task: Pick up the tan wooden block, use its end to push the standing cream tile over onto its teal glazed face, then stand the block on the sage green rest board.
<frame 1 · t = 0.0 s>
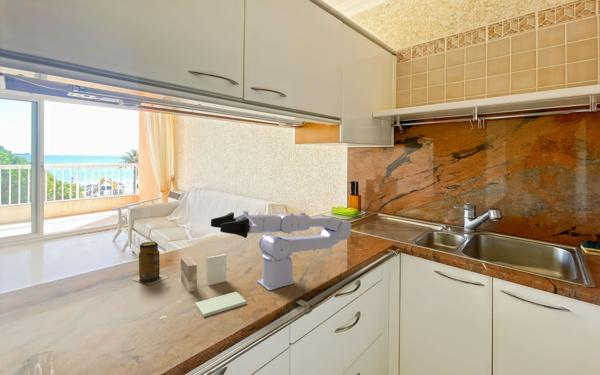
hand: (215, 225, 78), 22 cm above the table, tool horizontal, fingers open, 7 cm apart
tile: (216, 282, 91), on the table
rest board: (221, 304, 77), on the table
condiment: (151, 279, 93), on the table
tan wooden block: (188, 285, 89), on the table
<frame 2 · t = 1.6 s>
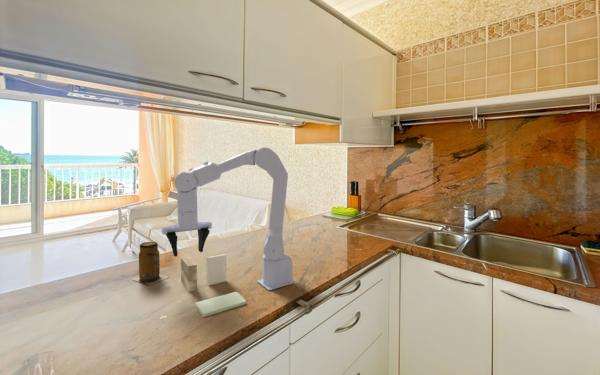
hand: (188, 253, 88), 10 cm above the table, tool pointing down, fingers open, 7 cm apart
nothing on the table moved.
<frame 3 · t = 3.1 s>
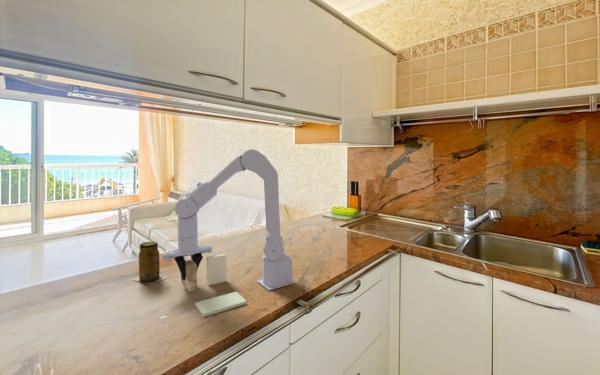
hand: (188, 277, 89), 2 cm above the table, tool pointing down, fingers closed on tan wooden block, 2 cm apart
tan wooden block: (188, 285, 89), on the table, touching gripper
everything else where it was.
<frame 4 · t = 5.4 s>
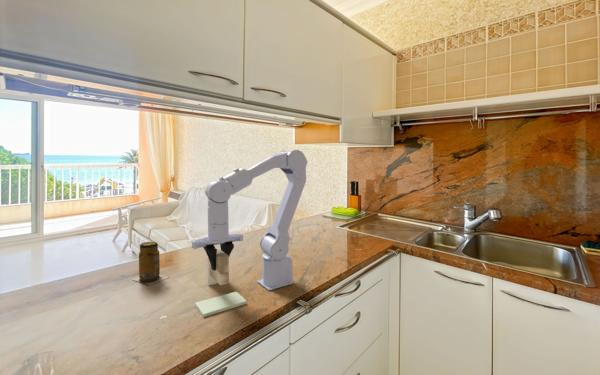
hand: (218, 268, 82), 8 cm above the table, tool pointing down, fingers closed on tan wooden block, 2 cm apart
tan wooden block: (218, 278, 82), point 5 cm above the table, touching gripper
everything else where it was.
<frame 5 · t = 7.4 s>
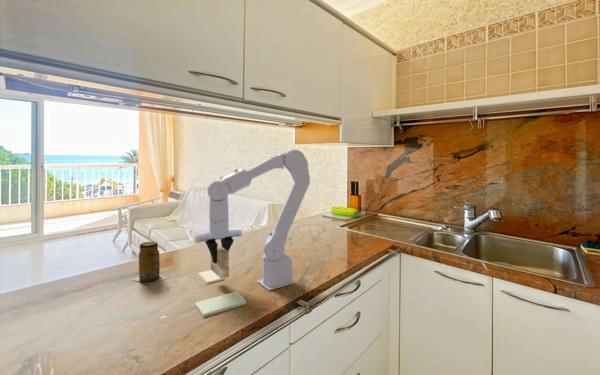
hand: (219, 261, 88), 8 cm above the table, tool pointing down, fingers closed on tan wooden block, 2 cm apart
tile: (215, 281, 92), on the table, tilted 89°
tan wooden block: (219, 272, 89), point 4 cm above the table, touching gripper
everything else where it was.
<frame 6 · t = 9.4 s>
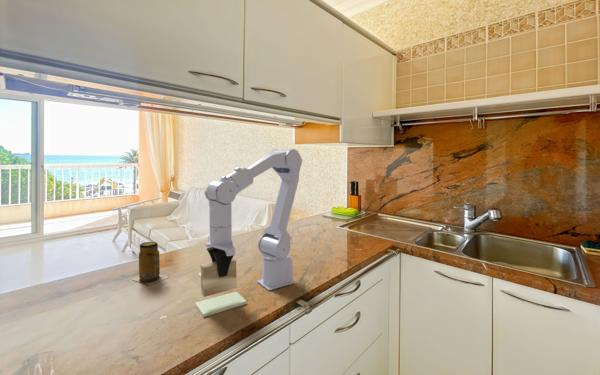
hand: (220, 274, 76), 9 cm above the table, tool pointing down, fingers closed on tan wooden block, 2 cm apart
tan wooden block: (219, 290, 76), point 4 cm above the table, touching gripper
everything else where it was.
when the fingers open (5 cm above the table, at t = 10.3 s): tan wooden block stays where it is, resting on rest board.
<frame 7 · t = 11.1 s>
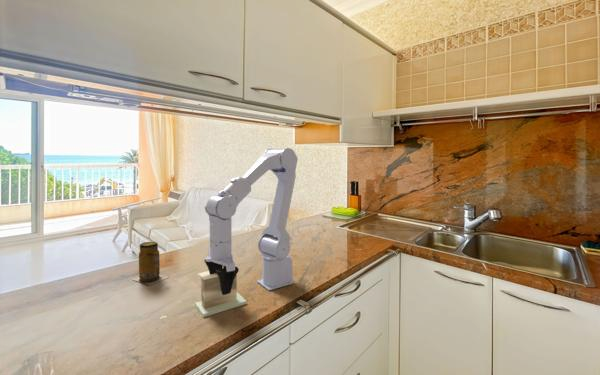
hand: (221, 288, 77), 5 cm above the table, tool pointing down, fingers open, 7 cm apart
tan wooden block: (219, 302, 77), point 1 cm above the table, touching rest board
everything else where it was.
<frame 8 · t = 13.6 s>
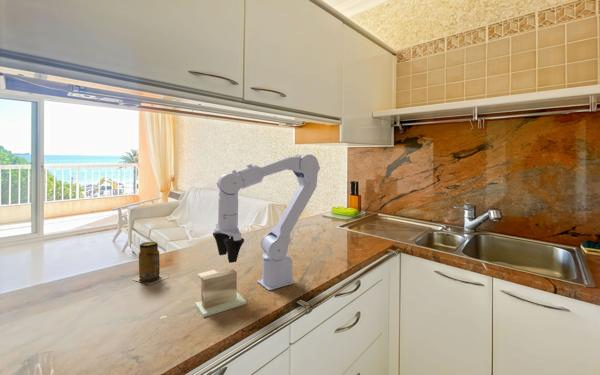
hand: (227, 258, 84), 10 cm above the table, tool pointing down, fingers open, 7 cm apart
nothing on the table moved.
at the end: tile tilted 89°; tan wooden block inside the target area on the rest board (0.5 cm from its centre), point 0.8 cm above the rest board's base; the gripper is holding nothing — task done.
